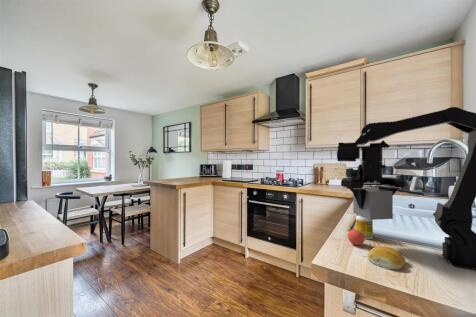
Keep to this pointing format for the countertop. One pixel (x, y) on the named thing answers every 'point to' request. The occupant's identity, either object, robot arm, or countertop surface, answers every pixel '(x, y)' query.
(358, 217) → the supplement bottle
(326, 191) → the countertop surface
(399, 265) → the bread roll
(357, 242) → the ball
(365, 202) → the gray block
